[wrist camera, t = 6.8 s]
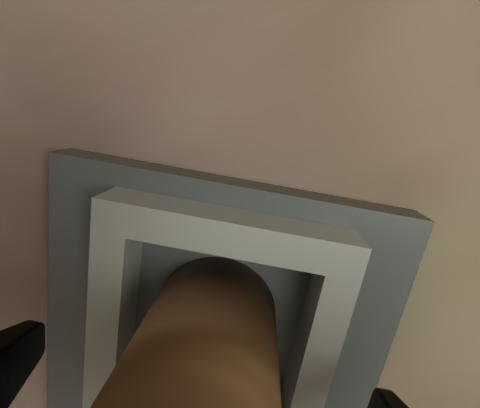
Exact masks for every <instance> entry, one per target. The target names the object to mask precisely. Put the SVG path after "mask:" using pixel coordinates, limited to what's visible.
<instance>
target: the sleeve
mask: <svg viewBox="0 0 480 408" xmlns="http://www.w3.org/2000/svg"><path fill="white" fill-rule="evenodd" d="M90 408H282V405H281V390H280V374H279V359H278V343H277V328H276V312H275V303H274V299H273V296H272V293H271V291H270V289H269V287H268V285H267V284H266V282H265V281H264V280H263V279H262V278H261V276H260V275H259V274H257V273H256V272H255V271H254V270H253V269H251V268H250V267H248V266H247V265H245V264H243V263H241V262H238V261H236V260H233V259H229V258H223V257H204V258H199V259H195V260H192V261H190V262H187V263H186V264H184V265H182V266H180V267H179V268H178V269H176V270H175V271H174V272H173V273H172V274H171V275H170V277H169V278H168V279H167V281H166V282H165V284H164V286H163V287H162V289H161V291H160V292H159V294H158V296H157V297H156V299H155V301H154V302H153V304H152V306H151V307H150V309H149V311H148V312H147V314H146V316H145V317H144V319H143V321H142V322H141V324H140V326H139V327H138V329H137V331H136V332H135V334H134V336H133V337H132V339H131V341H130V342H129V344H128V346H127V347H126V349H125V350H124V352H123V354H122V355H121V357H120V359H119V360H118V362H117V364H116V365H115V367H114V369H113V370H112V372H111V374H110V375H109V377H108V379H107V380H106V382H105V384H104V385H103V387H102V389H101V390H100V392H99V394H98V395H97V397H96V399H95V400H94V402H93V404H92V405H91V407H90Z"/></svg>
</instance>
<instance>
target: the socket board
mask: <svg viewBox="0 0 480 408" xmlns="http://www.w3.org/2000/svg"><path fill="white" fill-rule="evenodd" d="M433 224H434V221H432V220H431V219H429V218H427V217H426V216H424V215H422V214H421V213H419V212H417V211H415V210H409V209H404V208H398V207H393V206H387V205H381V204H376V203H370V202H365V201H359V200H354V199H348V198H343V197H337V196H331V195H326V194H320V193H315V192H309V191H304V190H298V189H293V188H287V187H281V186H276V185H270V184H265V183H259V182H254V181H248V180H243V179H237V178H231V177H226V176H220V175H215V174H209V173H204V172H198V171H193V170H187V169H182V168H176V167H170V166H165V165H159V164H154V163H148V162H143V161H137V160H132V159H126V158H120V157H115V156H109V155H104V154H98V153H93V152H87V151H82V150H76V149H66V150H59V151H53V152H49V208H48V350H47V408H90V407H91V405H92V404H93V402H94V400H95V399H96V397H97V395H98V394H99V392H100V390H101V389H102V387H103V385H104V384H105V382H106V380H107V379H108V377H109V375H110V374H111V372H112V370H113V369H114V367H115V365H116V364H117V362H118V360H119V359H120V357H121V355H122V354H123V352H124V350H125V349H126V347H127V346H128V344H129V342H130V341H131V339H132V337H133V336H134V334H135V332H136V331H137V329H138V327H139V326H140V324H141V322H142V321H143V319H144V317H145V316H146V314H147V312H148V311H149V309H150V307H151V306H152V304H153V302H154V301H155V299H156V297H157V296H158V294H159V292H160V291H161V289H162V287H163V286H164V284H165V282H166V281H167V279H168V278H169V277H170V275H171V274H172V273H173V272H174V271H175V270H176V269H178V268H179V267H180V266H182V265H184V264H186V263H187V262H190V261H192V260H195V259H199V258H204V257H223V258H229V259H233V260H236V261H238V262H241V263H243V264H245V265H247V266H248V267H250V268H251V269H253V270H254V271H255V272H256V273H257V274H259V275H260V276H261V278H262V279H263V280H264V281H265V282H266V284H267V285H268V287H269V289H270V291H271V293H272V296H273V299H274V303H275V312H276V328H277V343H278V359H279V374H280V390H281V405H282V408H367V406H368V404H369V401H370V398H371V395H372V392H373V390H374V389H375V388H376V387H377V384H378V381H379V378H380V375H381V373H382V370H383V367H384V364H385V361H386V358H387V355H388V353H389V350H390V347H391V344H392V341H393V338H394V336H395V333H396V330H397V327H398V324H399V321H400V318H401V316H402V313H403V310H404V307H405V304H406V301H407V298H408V296H409V293H410V290H411V287H412V284H413V281H414V279H415V276H416V273H417V270H418V267H419V264H420V261H421V259H422V256H423V253H424V250H425V247H426V244H427V242H428V239H429V236H430V233H431V230H432V227H433Z"/></svg>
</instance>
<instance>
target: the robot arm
mask: <svg viewBox="0 0 480 408" xmlns="http://www.w3.org/2000/svg"><path fill="white" fill-rule="evenodd" d="M44 350H45V325H44V323H42V322H38V321H33V320H27V321H24V322H21V323H19V324H16V325H14V326H11V327H9V328H6V329H4V330H1V331H0V408H8V407H9V406H10V404H11V403H12V401H13V400H14V398H15V397H16V395H17V394H18V392H19V391H20V389H21V388H22V386H23V385H24V383H25V382H26V380H27V379H28V377H29V376H30V374H31V373H32V371H33V369H34V368H35V366H36V365H37V363H38V362H39V360H40V359H41V357H42V355H43V353H44ZM367 408H409V407H408V406H407V405H406V404H405V403H404V402H403V401H402V400H401V399H400V398H399V397H398V396H397V395H396V394H395V393H393V392H392V391H391V390H387V389H382V388H375V389H374V390H373V392H372V395H371V398H370V401H369V404H368V406H367Z"/></svg>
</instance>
